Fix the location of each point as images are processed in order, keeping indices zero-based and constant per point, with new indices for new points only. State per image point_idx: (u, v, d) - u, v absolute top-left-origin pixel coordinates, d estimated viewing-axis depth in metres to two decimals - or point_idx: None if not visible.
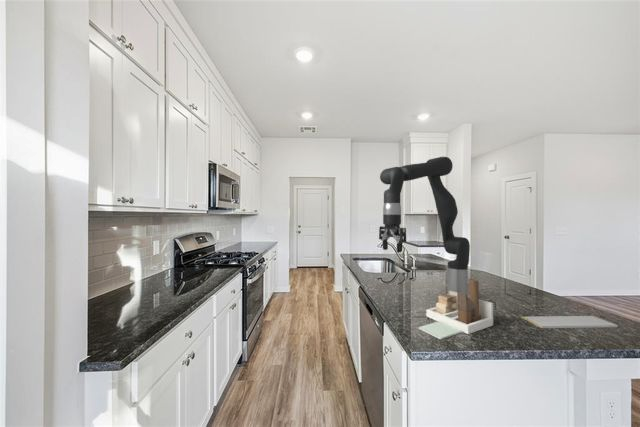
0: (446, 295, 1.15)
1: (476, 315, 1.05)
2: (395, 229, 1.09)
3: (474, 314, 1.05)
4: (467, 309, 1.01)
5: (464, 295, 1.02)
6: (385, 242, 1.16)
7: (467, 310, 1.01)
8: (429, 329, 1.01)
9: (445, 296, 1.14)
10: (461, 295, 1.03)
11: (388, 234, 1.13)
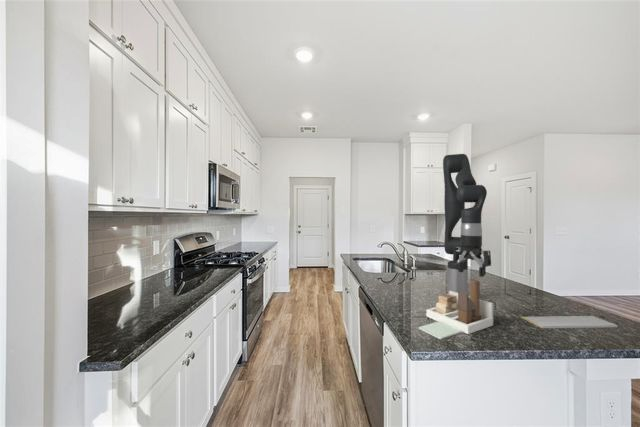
0: (446, 295, 1.15)
1: (476, 315, 1.05)
2: (477, 251, 1.02)
3: (474, 314, 1.05)
4: (468, 309, 1.01)
5: (465, 295, 1.01)
6: (461, 264, 1.08)
7: (467, 311, 1.01)
8: (429, 329, 1.01)
9: (445, 296, 1.14)
10: (462, 295, 1.02)
11: (466, 256, 1.05)
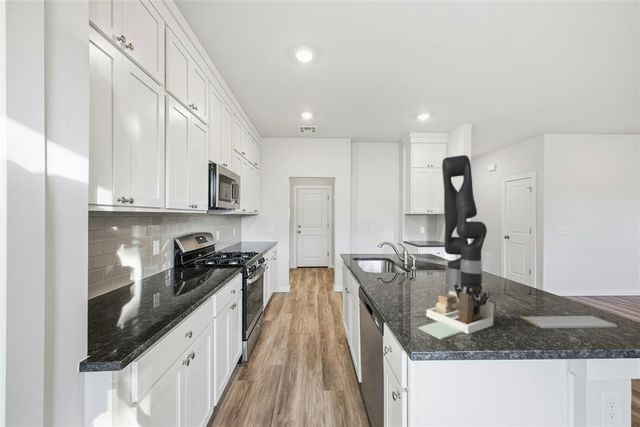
0: (446, 295, 1.15)
1: (477, 315, 1.05)
2: (477, 289, 1.02)
3: None
4: (468, 310, 1.01)
5: (466, 296, 1.01)
6: None
7: (468, 311, 1.01)
8: (429, 329, 1.01)
9: (445, 296, 1.14)
10: (463, 296, 1.02)
11: (468, 292, 1.05)
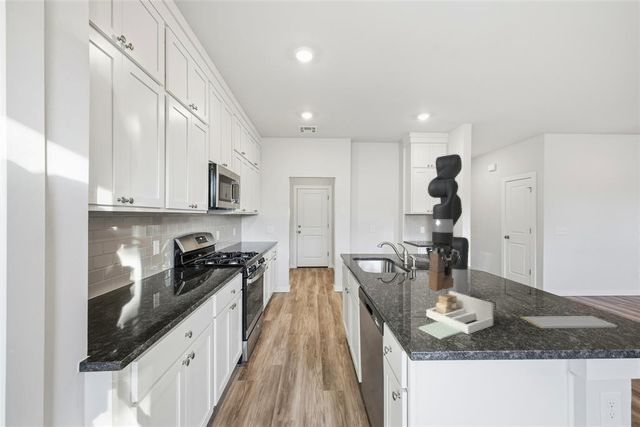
0: (446, 295, 1.15)
1: (448, 278, 1.00)
2: (448, 249, 0.97)
3: (446, 277, 1.01)
4: (438, 270, 0.96)
5: (436, 255, 0.96)
6: None
7: (438, 271, 0.96)
8: (429, 329, 1.01)
9: (445, 296, 1.14)
10: (433, 255, 0.97)
11: (439, 253, 1.00)
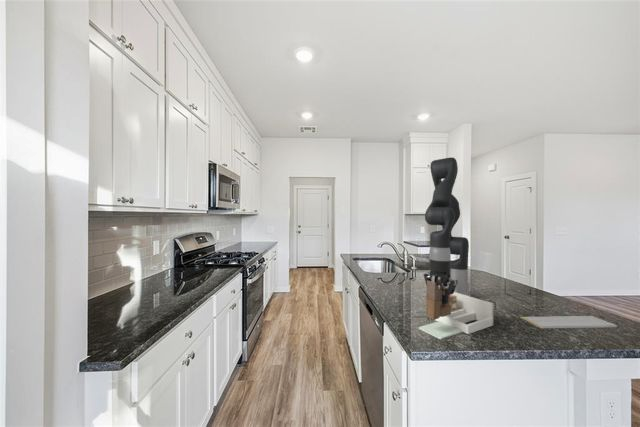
0: None
1: (446, 305, 1.00)
2: (445, 277, 0.97)
3: None
4: (436, 299, 0.97)
5: (433, 284, 0.97)
6: None
7: (435, 300, 0.97)
8: (429, 329, 1.01)
9: None
10: (430, 284, 0.98)
11: (437, 281, 1.00)
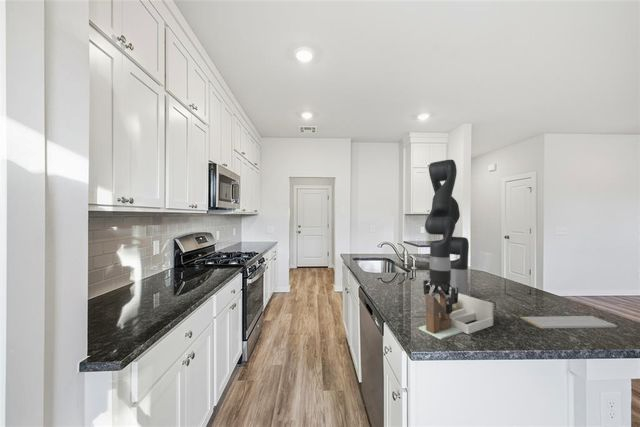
0: None
1: (446, 318, 1.01)
2: (445, 287, 0.97)
3: (444, 317, 1.01)
4: (435, 312, 0.97)
5: (432, 297, 0.97)
6: None
7: (434, 313, 0.97)
8: None
9: None
10: (429, 297, 0.98)
11: (436, 290, 1.01)
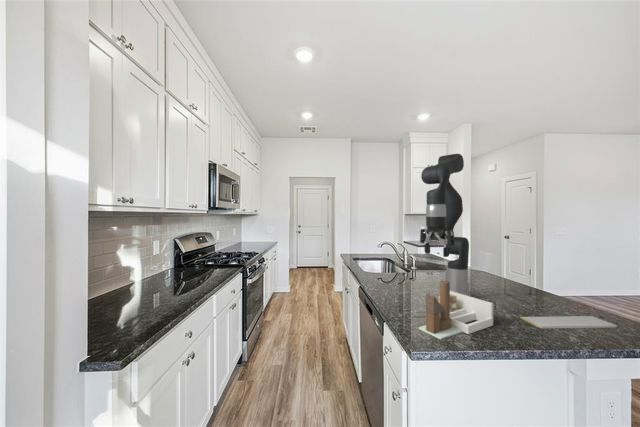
0: None
1: (446, 318, 1.01)
2: (441, 232, 1.02)
3: (444, 317, 1.01)
4: (435, 312, 0.97)
5: (432, 298, 0.97)
6: (427, 246, 1.09)
7: (434, 313, 0.97)
8: None
9: None
10: (429, 297, 0.98)
11: (432, 237, 1.06)
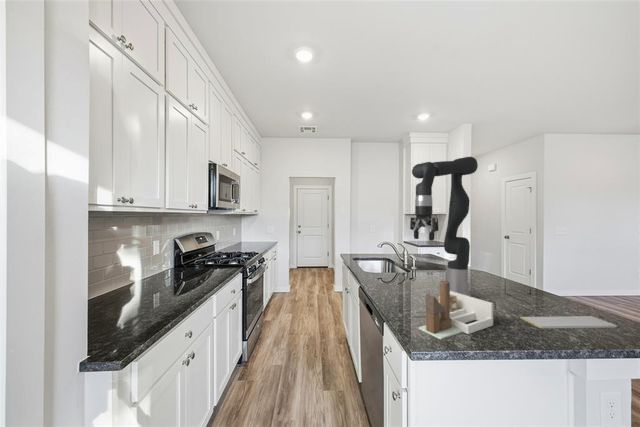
0: None
1: (446, 318, 1.01)
2: (427, 219, 1.19)
3: (444, 317, 1.01)
4: (435, 312, 0.97)
5: (432, 298, 0.97)
6: (416, 232, 1.25)
7: (434, 313, 0.97)
8: None
9: None
10: (429, 297, 0.98)
11: (420, 224, 1.22)
